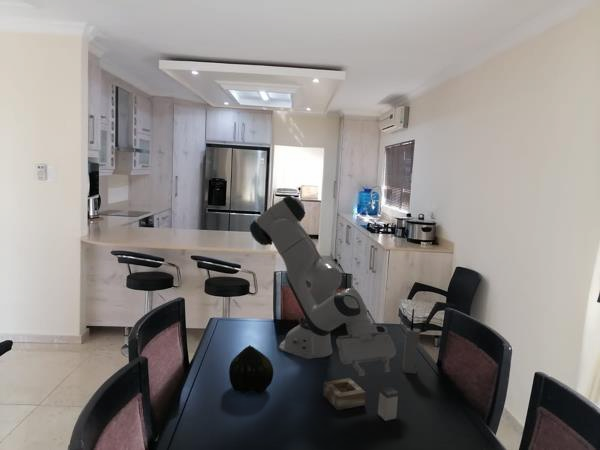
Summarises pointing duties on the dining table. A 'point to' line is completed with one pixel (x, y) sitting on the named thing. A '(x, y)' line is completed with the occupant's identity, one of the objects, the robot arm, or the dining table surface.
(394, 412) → the pale rectangular box
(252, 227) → the robot arm
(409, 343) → the vintage mobile phone
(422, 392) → the dining table surface
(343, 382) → the box
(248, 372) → the squash
